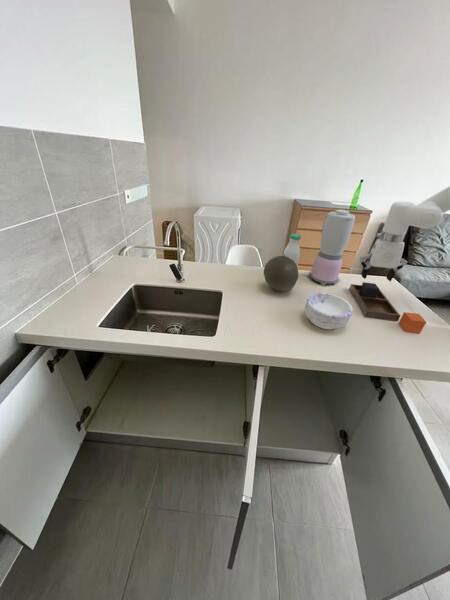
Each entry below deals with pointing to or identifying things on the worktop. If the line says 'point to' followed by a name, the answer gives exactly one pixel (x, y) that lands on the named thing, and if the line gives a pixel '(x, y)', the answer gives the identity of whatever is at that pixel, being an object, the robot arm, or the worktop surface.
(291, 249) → the milk bottle
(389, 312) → the holder
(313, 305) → the paper bowls
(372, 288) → the black cube
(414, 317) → the orange cube
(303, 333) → the worktop surface
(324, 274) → the blender
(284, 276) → the dark brown ball
